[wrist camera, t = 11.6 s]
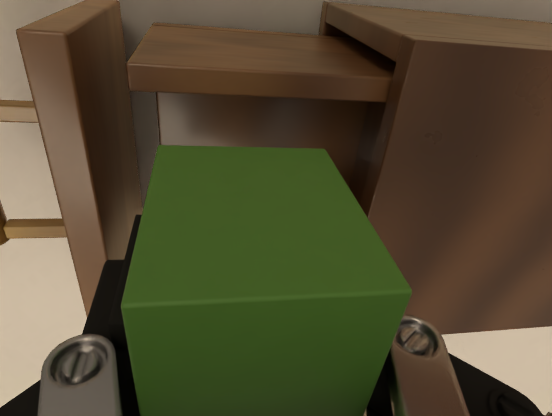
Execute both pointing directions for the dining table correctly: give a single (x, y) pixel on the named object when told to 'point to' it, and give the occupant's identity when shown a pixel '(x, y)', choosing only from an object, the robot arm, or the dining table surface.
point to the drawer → (180, 111)
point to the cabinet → (462, 162)
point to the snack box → (257, 287)
